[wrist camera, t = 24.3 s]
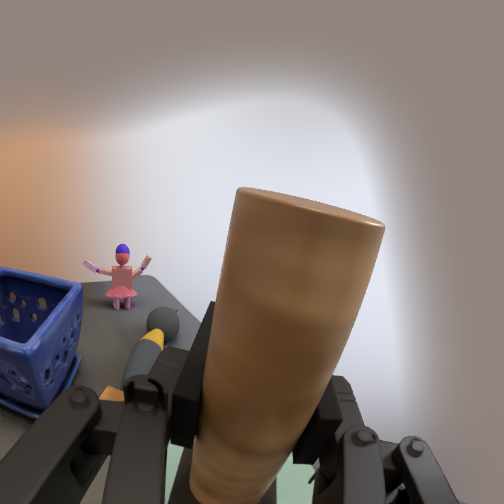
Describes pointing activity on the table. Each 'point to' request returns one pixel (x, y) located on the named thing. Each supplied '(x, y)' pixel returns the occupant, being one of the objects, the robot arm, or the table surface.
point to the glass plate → (288, 479)
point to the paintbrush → (152, 341)
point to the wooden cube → (112, 394)
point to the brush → (273, 340)
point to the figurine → (121, 276)
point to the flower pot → (37, 339)
